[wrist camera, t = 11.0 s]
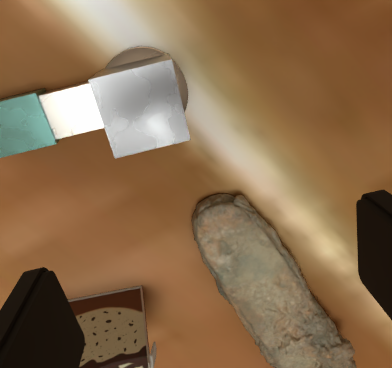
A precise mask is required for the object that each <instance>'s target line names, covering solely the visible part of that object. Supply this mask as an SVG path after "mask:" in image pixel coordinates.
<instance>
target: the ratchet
mask: <svg viewBox="0 0 392 368" xmlns="http://www.w3.org/2000/svg"><path fill="white" fill-rule="evenodd" d="M164 54H166V53H164V52H162V51H160V50H158V49H155V48H151V47H134V48H130V49H127V50H125V51H123V52H122V53H120V54H119V55H117V56H116V57H114V58H113V59H112V60H111V61H110V62H109V63H108V65H107V66H106V68H110V67H114V66H119V65H123V64H127V63H131V62H135V61H139V60H143V59H147V58H151V57H156V56H160V55H164ZM171 59H172V58H171ZM172 63H173V67H174V71H175V76H176V80H177V84H178V88H179V93H180V97H181V101H182V105H183V110H184V112H185V109H186V106H187V100H188V89H187V84H186V80H185V78H184V75H183V73H182V71H181V70H180V68H179V67H178V65H177V64H176V63H175V61H174V60H173V59H172ZM106 68H105V69H106ZM100 128H104V125H103V122H102V119H101V116H100V113H99V110H98V107H97V105H96V102H95V99H94V96H93V93H92V90H91V87H90V84H89V81H87V82H83V83H79V84H75V85H71V86H67V87H63V88H59V89H55V90H51V91H47V92H46V90H45V88H43V89H39V90H35V91H31V92H27V93H23V94H18V95H14V96H10V97H6V98H2V99H0V158H1V157H5V156H9V155H13V154H18V153H22V152H26V151H30V150H34V149H38V148H42V147H46V146H50V145H54V144H57V143H58V141H59V140H60V139H61V138H64V137H68V136H72V135H76V134H80V133H84V132H88V131H92V130H96V129H100Z"/></svg>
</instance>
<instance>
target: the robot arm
mask: <svg viewBox="0 0 392 368" xmlns="http://www.w3.org/2000/svg"><path fill="white" fill-rule="evenodd" d="M356 209H357V241H358V272H359V276H360V279H361V281H362V283H363V284H364V286H365V287H366V288H367V289H368V291H369V292H370V293H371V294H372V296H373V297H374V298H375V300H376V301H377V302H378V303H379V305H380V306H381V307H382V308H383V310H384V311H385V312H386V313H387V315H388V316H389V317H390V318H391V320H392V195H391V194H390V193H388V192H387V191H385V190H379V191H375V192H370V193H366V194H363V195H362V197H361V200H358V201H357V204H356ZM84 347H85V337H84V333H83V331H82V329H81V327H80V325H79V323H78V321H77V319H76V317H75V314H74V312H73V310H72V308H71V306H70V304H69V302H68V300H67V298H66V296H65V294H64V291H63V289H62V287H61V285H60V283H59V281H58V279H57V277H56V275H55V273H54V272H53V271H48V269H46V268H44V267H43V268H39V269H34V270H30V271H26V272H24V273H23V274H22V276H21V277H20V279H19V281H18V282H17V284H16V285H15V287H14V289H13V290H12V292H11V294H10V295H9V297H8V299H7V300H6V302H5V303H4V305H3V307H2V308H1V310H0V368H79V366H80V362H81V358H82V354H83V351H84Z"/></svg>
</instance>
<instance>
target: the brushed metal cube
mask: <svg viewBox="0 0 392 368" xmlns="http://www.w3.org/2000/svg"><path fill="white" fill-rule="evenodd" d="M88 81H89V84H90V87H91V90H92V93H93V96H94V99H95V102H96V105H97V107H98V110H99V113H100V116H101V119H102V122H103V125H104V128H105V131H106V134H107V137H108V139H109V142H110V145H111V148H112V151H113V154H114V157H115V158H119V157H123V156H127V155H131V154H135V153H139V152H143V151H147V150H151V149H156V148H160V147H164V146H168V145H172V144H176V143H180V142H184V141H188V140H191V139H190V135H189V131H188V127H187V122H186V118H185V114H184V110H183V105H182V101H181V97H180V93H179V88H178V84H177V80H176V76H175V71H174V67H173V63H172V59H171V57H170V55H169V54H164V55H160V56H156V57H151V58H147V59H143V60H139V61H135V62H131V63H127V64H123V65H119V66H114V67H110V68H106V69H102V70H101V71H99V72H98V73H97V74H95V75H94V76H93V77H91V78H90V79H88Z"/></svg>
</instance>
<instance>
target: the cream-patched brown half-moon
mask: <svg viewBox="0 0 392 368" xmlns="http://www.w3.org/2000/svg"><path fill="white" fill-rule="evenodd" d="M68 302H69V304H70V306H71V308H72V310H73V312H74V314H75V317H76V319H77V321H78V323H79V325H80V327H81V329H82V331H83V333H84V337H85V347H84V351H83V354H82V358H81V362H80V366H79V368H154V363H155V359H156V344H155V342H153V346H152V350H151V354H150V353H149V344H148V334H147V324H146V314H145V305H144V295H143V288H142V285H141V286H136V287H131V288H126V289H120V290H115V291H110V292H105V293H100V294H95V295H90V296H85V297H79V298H74V299H69V300H68Z"/></svg>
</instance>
